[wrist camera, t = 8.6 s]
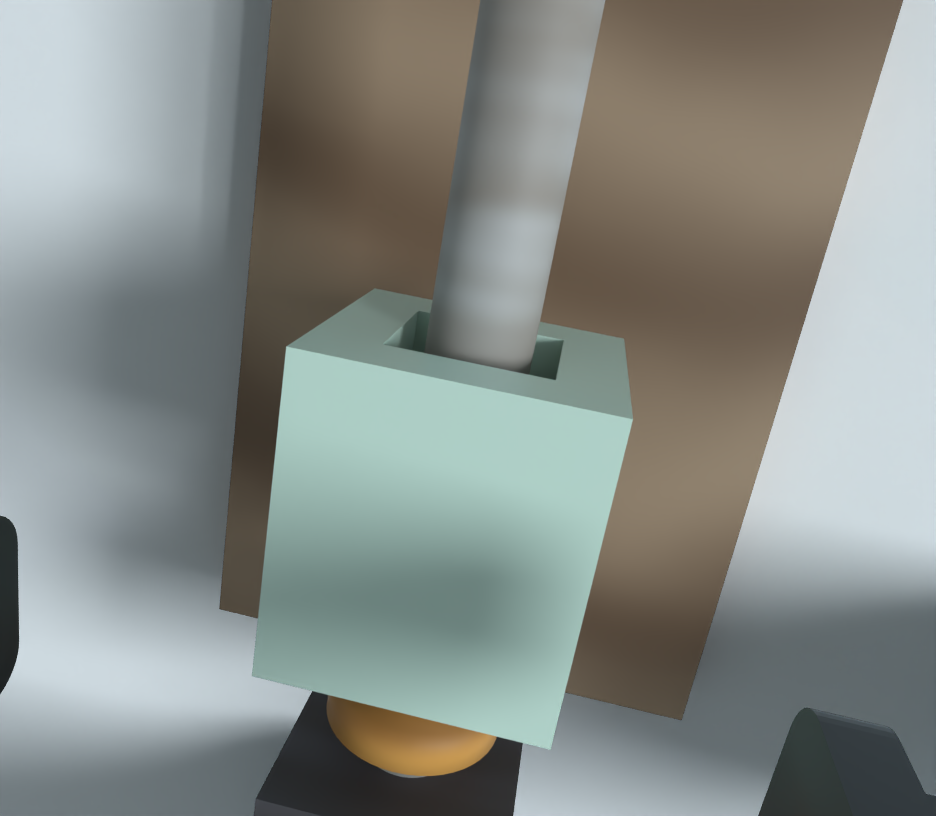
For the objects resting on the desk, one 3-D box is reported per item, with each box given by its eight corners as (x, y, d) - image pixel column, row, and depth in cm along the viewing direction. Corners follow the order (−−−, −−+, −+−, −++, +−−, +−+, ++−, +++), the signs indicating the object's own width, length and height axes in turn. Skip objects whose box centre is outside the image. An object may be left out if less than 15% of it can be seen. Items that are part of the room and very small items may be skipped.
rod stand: (337, -413, 16) (11, -1094, 7) (980, -332, 15) (1525, -1010, 6) (242, 580, 23) (18, 855, 14) (676, 683, 22) (726, 1049, 13)
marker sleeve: (374, 288, 15) (285, 346, 11) (624, 338, 14) (632, 418, 10) (340, 540, 16) (252, 675, 12) (563, 591, 16) (550, 750, 12)
